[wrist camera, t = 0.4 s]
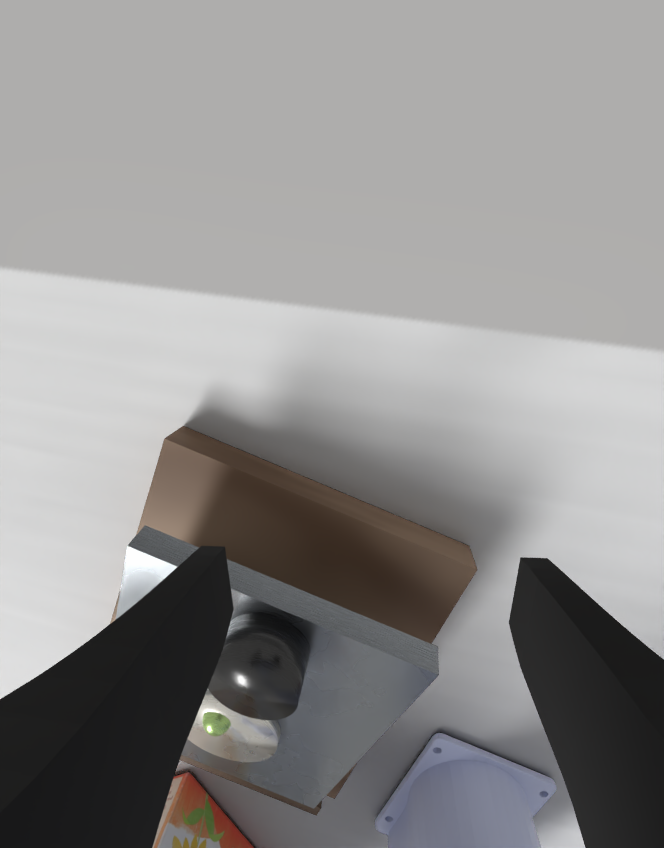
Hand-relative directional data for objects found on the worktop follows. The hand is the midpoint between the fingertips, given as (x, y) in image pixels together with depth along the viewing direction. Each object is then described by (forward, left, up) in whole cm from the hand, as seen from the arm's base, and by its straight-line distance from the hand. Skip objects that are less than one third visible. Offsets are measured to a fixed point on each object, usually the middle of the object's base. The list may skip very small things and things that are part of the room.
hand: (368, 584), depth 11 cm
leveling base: (-12, +1, -11) cm, 17 cm away
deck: (-13, +1, -7) cm, 15 cm away
